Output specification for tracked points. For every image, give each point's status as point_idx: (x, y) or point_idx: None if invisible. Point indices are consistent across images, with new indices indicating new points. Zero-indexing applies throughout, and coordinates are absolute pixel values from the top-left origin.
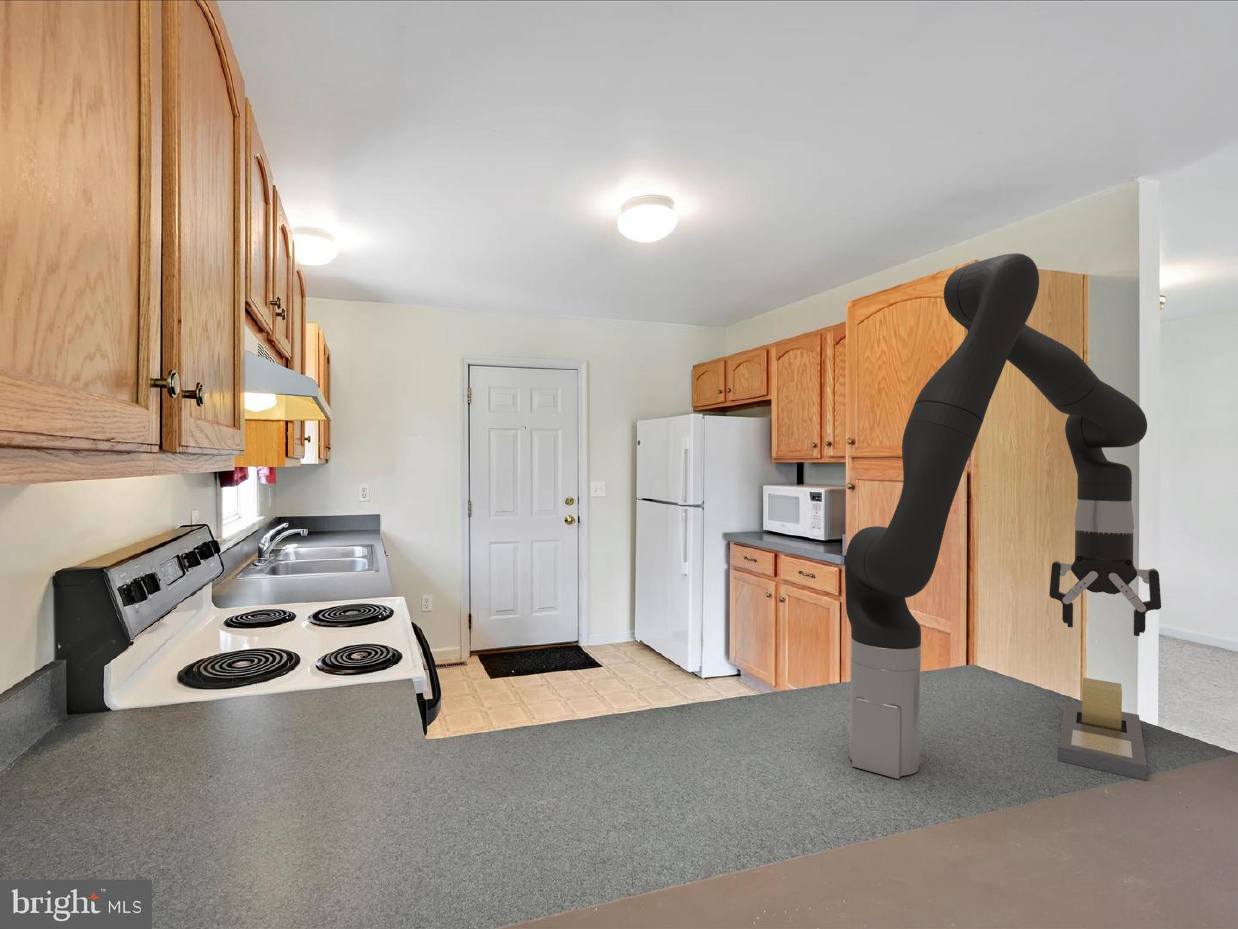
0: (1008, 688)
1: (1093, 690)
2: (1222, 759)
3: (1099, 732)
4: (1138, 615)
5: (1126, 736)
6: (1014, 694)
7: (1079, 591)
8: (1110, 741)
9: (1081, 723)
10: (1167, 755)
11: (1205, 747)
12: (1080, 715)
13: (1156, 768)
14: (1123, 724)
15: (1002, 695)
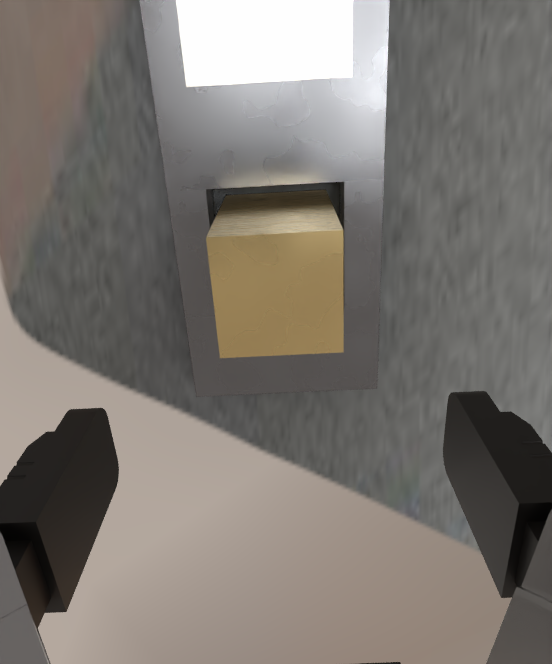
0: None
1: (302, 229)
2: (11, 266)
3: (276, 128)
4: (17, 506)
5: (204, 151)
6: None
7: (536, 621)
8: (238, 28)
9: None
10: (118, 196)
11: (57, 335)
12: None
13: (126, 42)
14: None
15: (530, 421)
